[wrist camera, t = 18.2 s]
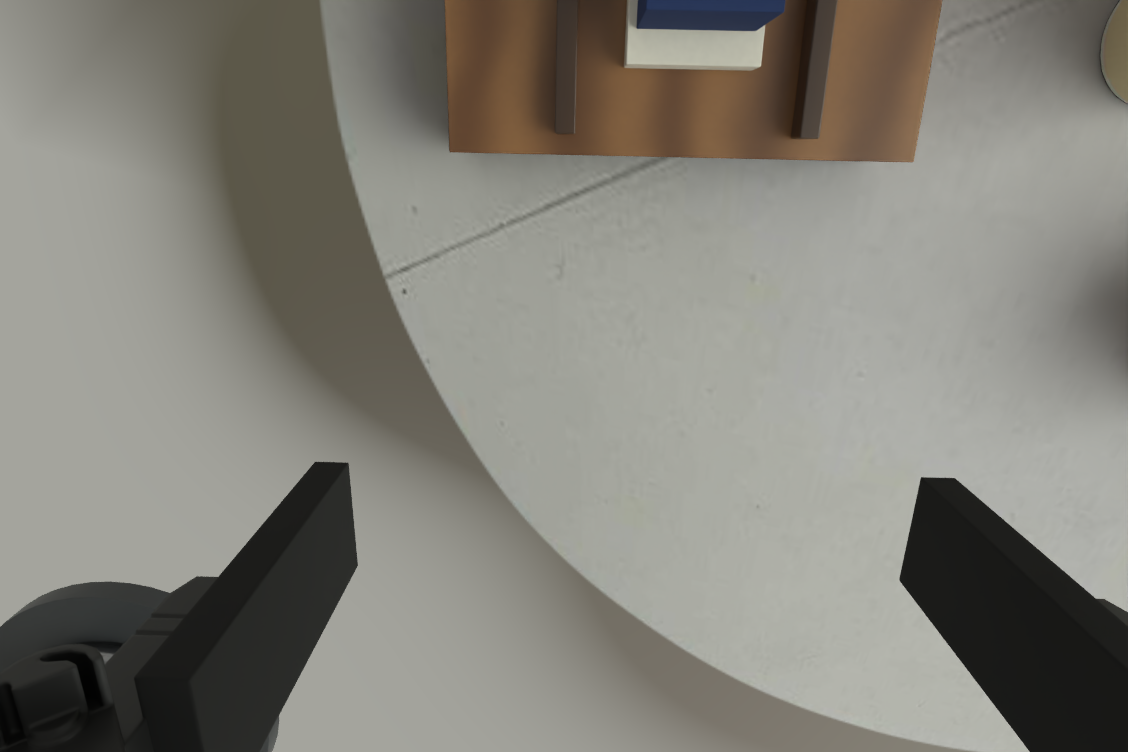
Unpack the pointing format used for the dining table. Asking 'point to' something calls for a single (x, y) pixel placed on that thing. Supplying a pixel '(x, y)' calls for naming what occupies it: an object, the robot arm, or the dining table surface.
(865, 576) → the dining table surface
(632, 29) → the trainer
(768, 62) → the display stand
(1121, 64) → the coffee cup
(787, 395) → the dining table surface
